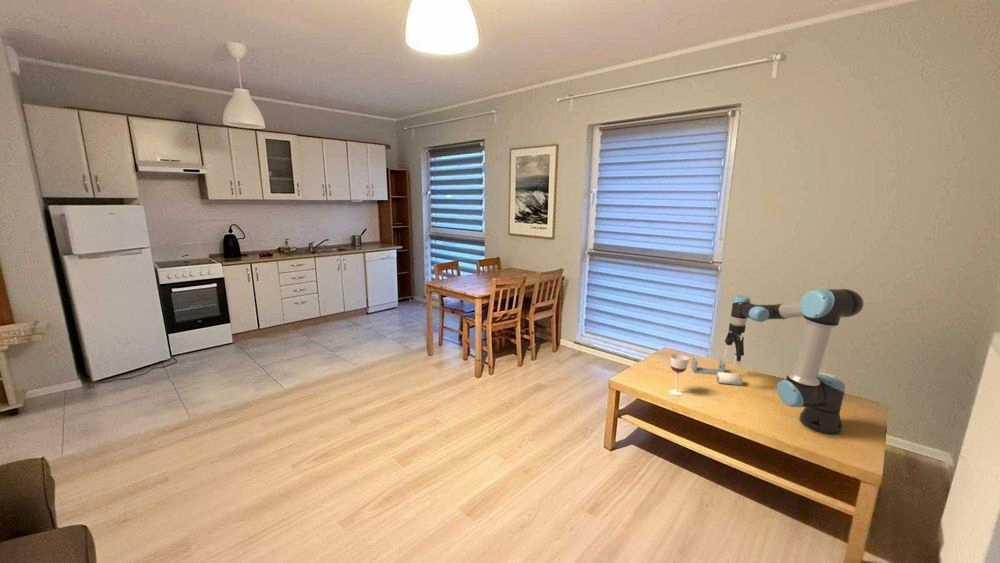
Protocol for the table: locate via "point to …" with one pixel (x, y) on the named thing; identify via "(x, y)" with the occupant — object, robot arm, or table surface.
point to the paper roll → (729, 378)
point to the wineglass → (678, 368)
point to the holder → (706, 370)
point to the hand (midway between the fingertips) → (731, 361)
